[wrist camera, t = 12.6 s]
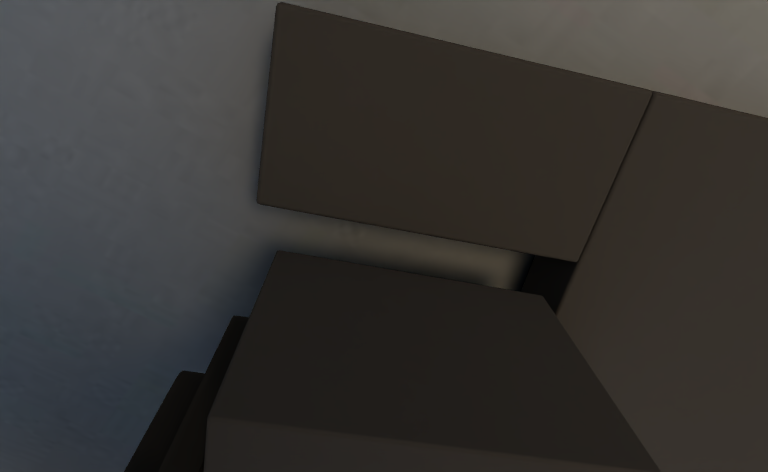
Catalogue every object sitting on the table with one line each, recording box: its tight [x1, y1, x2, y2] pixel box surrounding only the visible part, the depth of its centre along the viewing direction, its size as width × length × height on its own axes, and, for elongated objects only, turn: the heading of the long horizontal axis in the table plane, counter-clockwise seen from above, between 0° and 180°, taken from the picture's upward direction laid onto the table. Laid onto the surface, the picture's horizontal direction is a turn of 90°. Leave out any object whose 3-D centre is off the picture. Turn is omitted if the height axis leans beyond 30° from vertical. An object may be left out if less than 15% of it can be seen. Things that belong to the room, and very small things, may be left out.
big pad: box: [257, 2, 768, 472], centre depth 12 cm, size 15×18×2 cm
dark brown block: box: [204, 251, 661, 472], centre depth 9 cm, size 6×6×4 cm
